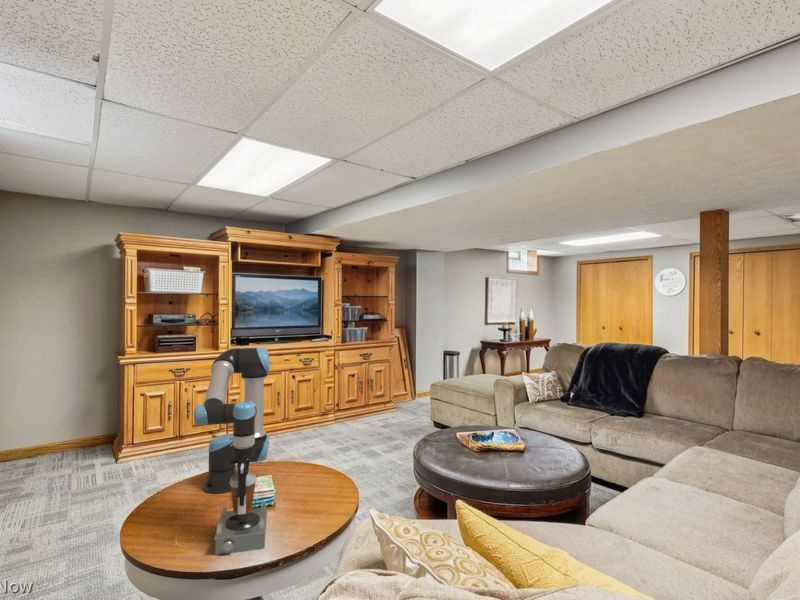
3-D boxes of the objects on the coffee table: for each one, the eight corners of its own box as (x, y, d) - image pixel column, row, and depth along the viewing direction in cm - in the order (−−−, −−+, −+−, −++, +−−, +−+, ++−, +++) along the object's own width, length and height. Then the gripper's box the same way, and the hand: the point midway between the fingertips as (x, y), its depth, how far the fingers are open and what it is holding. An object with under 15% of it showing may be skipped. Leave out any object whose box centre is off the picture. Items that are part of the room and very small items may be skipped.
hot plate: (221, 527, 163) (221, 504, 163) (267, 522, 167) (267, 499, 167) (213, 557, 144) (214, 530, 144) (265, 550, 149) (265, 524, 149)
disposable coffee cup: (256, 514, 153) (256, 480, 153) (227, 518, 150) (228, 483, 150) (257, 502, 162) (257, 470, 162) (230, 505, 159) (230, 473, 160)
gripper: (235, 437, 165) (234, 496, 165) (229, 456, 145) (228, 523, 145) (256, 436, 167) (255, 494, 167) (252, 454, 147) (251, 520, 147)
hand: (242, 507), depth 156 cm, fingers closed on disposable coffee cup, 8 cm apart
